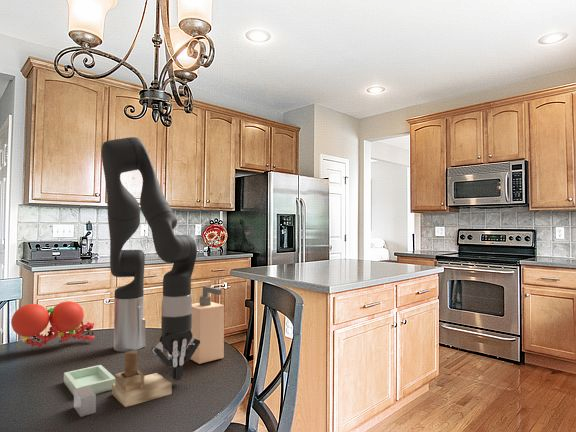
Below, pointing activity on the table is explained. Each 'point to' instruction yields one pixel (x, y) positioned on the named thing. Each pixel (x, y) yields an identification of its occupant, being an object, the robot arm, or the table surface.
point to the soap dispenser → (208, 327)
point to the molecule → (51, 322)
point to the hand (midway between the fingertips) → (176, 379)
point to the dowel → (130, 363)
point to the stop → (84, 401)
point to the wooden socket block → (140, 388)
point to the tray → (89, 379)
